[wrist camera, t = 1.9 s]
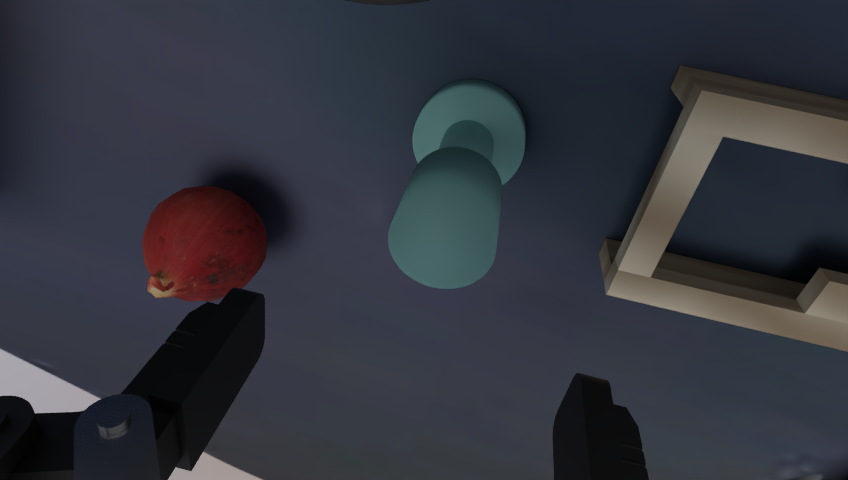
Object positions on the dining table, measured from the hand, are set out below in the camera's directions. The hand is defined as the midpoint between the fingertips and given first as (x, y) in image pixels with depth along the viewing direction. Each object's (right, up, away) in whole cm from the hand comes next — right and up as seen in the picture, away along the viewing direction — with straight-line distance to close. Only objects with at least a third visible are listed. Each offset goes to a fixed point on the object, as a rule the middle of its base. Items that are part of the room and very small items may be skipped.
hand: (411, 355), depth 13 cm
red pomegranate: (-10, +5, +17) cm, 21 cm away
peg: (+3, +8, +12) cm, 15 cm away
